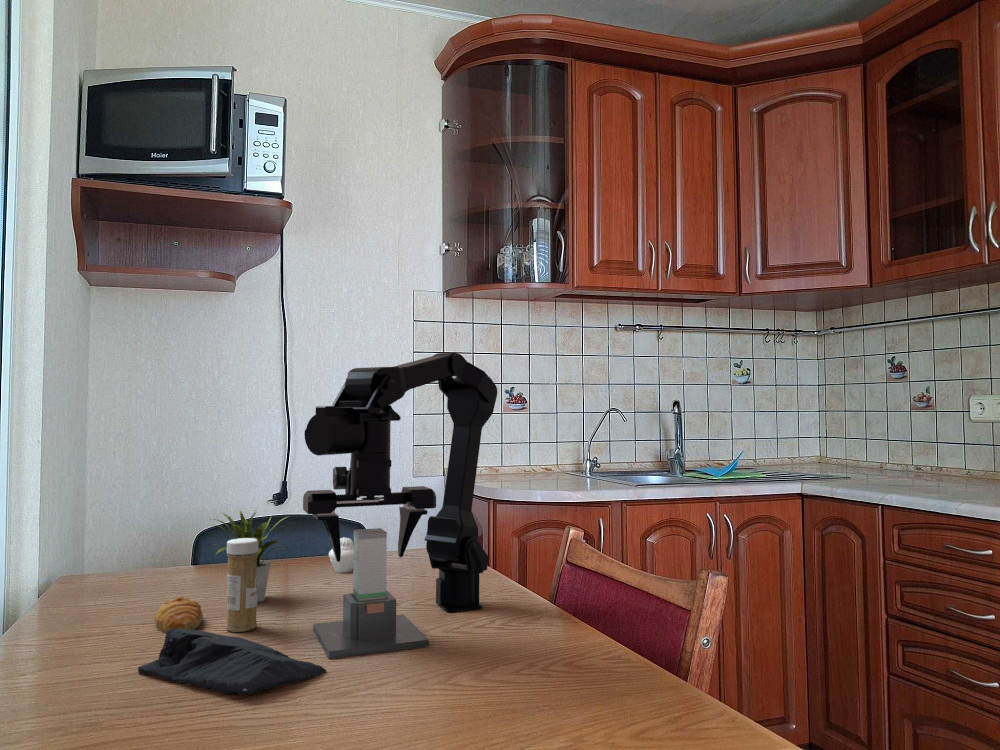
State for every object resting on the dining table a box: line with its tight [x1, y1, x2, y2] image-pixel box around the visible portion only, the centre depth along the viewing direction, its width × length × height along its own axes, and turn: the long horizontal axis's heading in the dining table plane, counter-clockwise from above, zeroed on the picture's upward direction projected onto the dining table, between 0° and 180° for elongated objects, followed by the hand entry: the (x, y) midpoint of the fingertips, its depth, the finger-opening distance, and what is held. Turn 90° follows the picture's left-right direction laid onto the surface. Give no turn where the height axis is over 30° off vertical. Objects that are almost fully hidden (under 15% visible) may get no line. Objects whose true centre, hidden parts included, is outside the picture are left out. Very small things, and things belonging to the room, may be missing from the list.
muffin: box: [328, 536, 354, 574], centre depth 156 cm, size 6×6×7 cm
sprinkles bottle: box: [225, 537, 258, 633], centre depth 116 cm, size 5×5×14 cm
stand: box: [312, 590, 430, 660], centre depth 111 cm, size 14×14×6 cm
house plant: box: [210, 509, 291, 603], centre depth 133 cm, size 14×14×16 cm
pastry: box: [153, 596, 204, 634], centre depth 117 cm, size 9×7×4 cm
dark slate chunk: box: [137, 629, 327, 696], centre depth 97 cm, size 15×22×5 cm
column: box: [352, 527, 388, 602], centre depth 111 cm, size 4×4×10 cm
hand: (369, 558), depth 111 cm, fingers open, 9 cm apart
